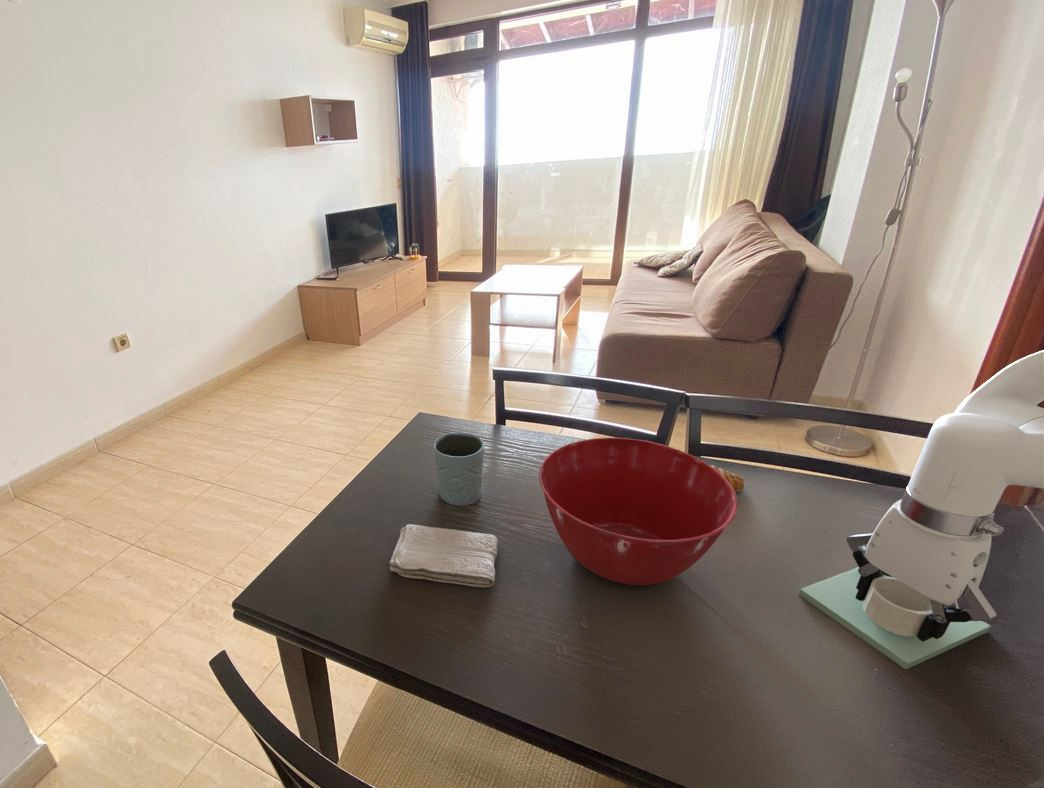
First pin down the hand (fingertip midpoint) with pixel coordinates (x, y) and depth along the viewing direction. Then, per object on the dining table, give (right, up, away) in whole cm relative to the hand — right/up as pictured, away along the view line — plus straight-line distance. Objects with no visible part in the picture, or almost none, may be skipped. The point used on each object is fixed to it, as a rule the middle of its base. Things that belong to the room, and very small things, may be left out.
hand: (895, 615), depth 74 cm
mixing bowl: (-30, +3, +18) cm, 35 cm away
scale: (+3, -1, +4) cm, 5 cm away
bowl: (0, -1, 0) cm, 1 cm away
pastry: (-4, +13, +34) cm, 37 cm away
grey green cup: (-54, +10, +38) cm, 67 cm away
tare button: (+6, +4, +7) cm, 10 cm away
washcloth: (-59, +1, +21) cm, 63 cm away
